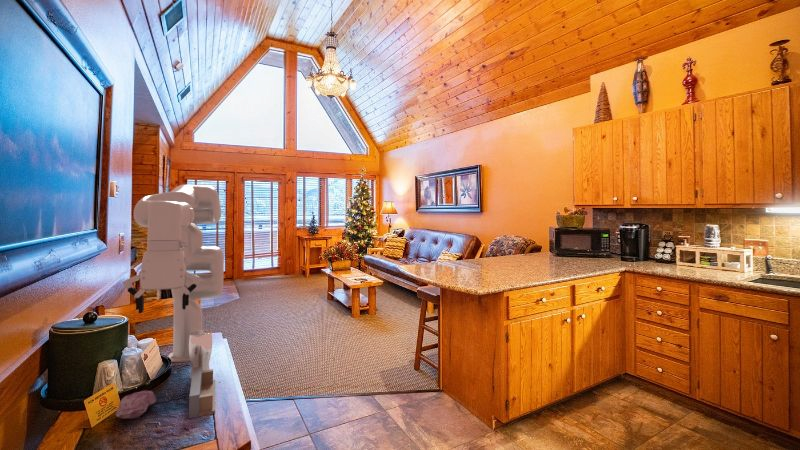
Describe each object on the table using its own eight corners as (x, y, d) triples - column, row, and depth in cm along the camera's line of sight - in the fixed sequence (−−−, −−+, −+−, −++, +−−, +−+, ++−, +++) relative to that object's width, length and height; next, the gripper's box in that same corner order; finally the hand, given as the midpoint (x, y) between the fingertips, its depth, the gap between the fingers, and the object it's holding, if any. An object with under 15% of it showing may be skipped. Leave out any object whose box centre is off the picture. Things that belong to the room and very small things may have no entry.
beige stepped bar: (193, 386, 112) (193, 367, 112) (215, 382, 115) (215, 364, 115) (188, 418, 95) (189, 396, 95) (214, 413, 98) (215, 391, 98)
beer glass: (198, 382, 115) (199, 337, 115) (183, 378, 117) (184, 334, 117) (216, 373, 121) (217, 330, 121) (201, 370, 124) (202, 328, 124)
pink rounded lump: (108, 428, 90) (108, 408, 89) (127, 401, 103) (127, 384, 103) (146, 422, 93) (146, 402, 92) (160, 396, 106) (160, 379, 106)
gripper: (201, 245, 102) (200, 304, 102) (126, 246, 93) (125, 310, 94) (201, 247, 95) (199, 310, 95) (120, 248, 87) (119, 317, 87)
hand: (163, 310), depth 94 cm, fingers open, 9 cm apart
